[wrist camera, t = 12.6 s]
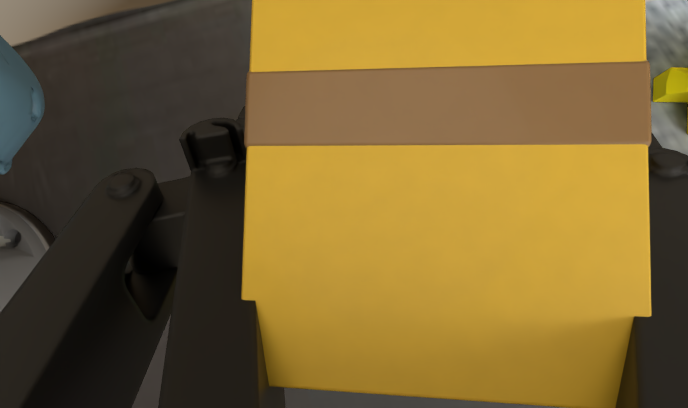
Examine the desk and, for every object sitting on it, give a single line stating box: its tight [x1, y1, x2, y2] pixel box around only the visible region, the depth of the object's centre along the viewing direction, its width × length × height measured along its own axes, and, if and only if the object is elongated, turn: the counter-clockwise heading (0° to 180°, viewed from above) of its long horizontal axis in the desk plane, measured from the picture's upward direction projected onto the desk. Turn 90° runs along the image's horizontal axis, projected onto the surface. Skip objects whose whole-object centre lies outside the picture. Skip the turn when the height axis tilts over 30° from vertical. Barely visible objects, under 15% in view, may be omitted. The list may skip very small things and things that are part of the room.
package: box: [241, 0, 652, 408], centre depth 12 cm, size 6×8×12 cm
